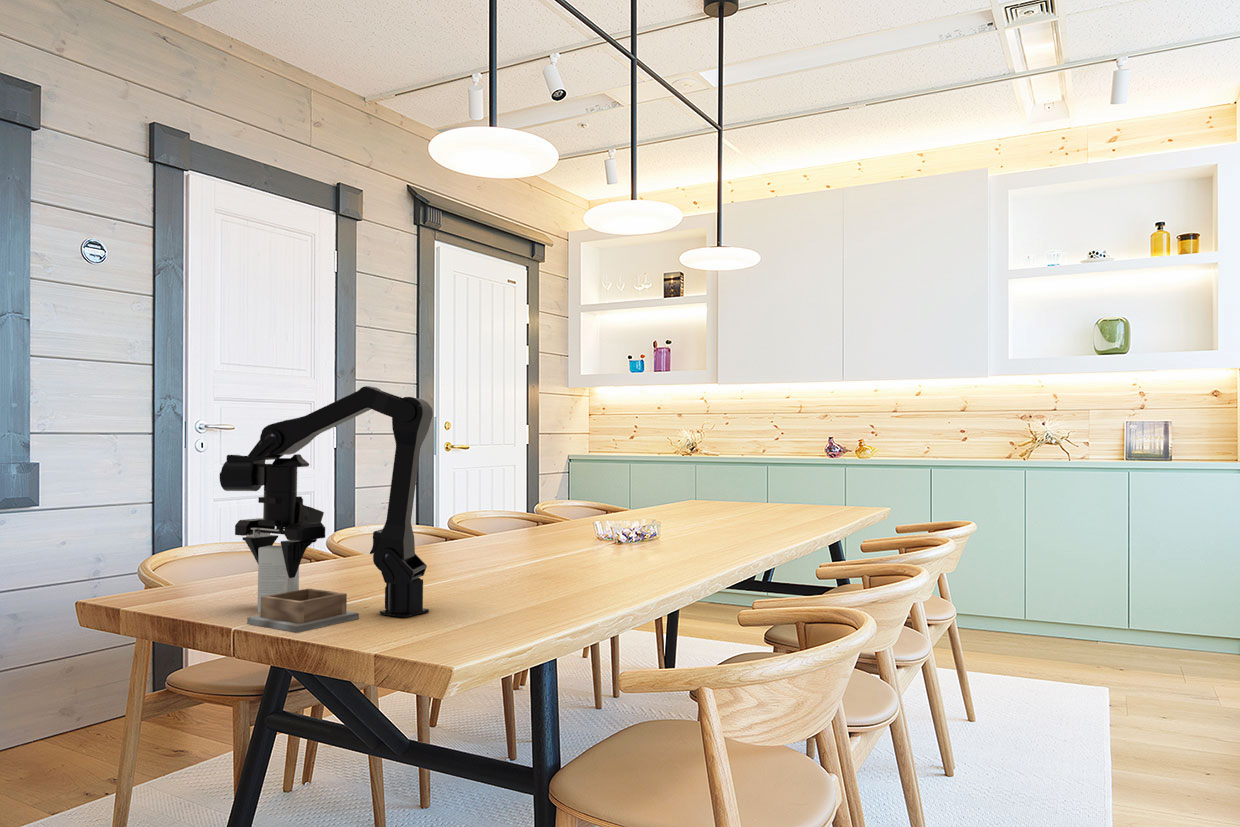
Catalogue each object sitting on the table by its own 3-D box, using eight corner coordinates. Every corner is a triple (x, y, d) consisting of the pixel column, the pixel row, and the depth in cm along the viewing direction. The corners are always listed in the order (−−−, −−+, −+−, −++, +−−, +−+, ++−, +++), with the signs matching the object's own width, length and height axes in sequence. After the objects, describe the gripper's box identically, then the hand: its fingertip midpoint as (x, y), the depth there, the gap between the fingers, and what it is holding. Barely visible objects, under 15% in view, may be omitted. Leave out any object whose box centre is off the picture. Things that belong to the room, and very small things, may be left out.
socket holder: (358, 618, 148) (359, 593, 148) (297, 632, 136) (297, 604, 137) (309, 611, 154) (310, 586, 154) (247, 623, 143) (247, 597, 143)
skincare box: (299, 609, 155) (300, 545, 156) (287, 614, 151) (289, 548, 152) (268, 609, 156) (269, 544, 156) (256, 613, 152) (257, 547, 152)
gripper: (349, 491, 157) (348, 574, 156) (284, 488, 166) (283, 566, 165) (299, 493, 147) (298, 582, 146) (234, 490, 156) (232, 574, 156)
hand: (278, 576), depth 154 cm, fingers closed on skincare box, 7 cm apart
